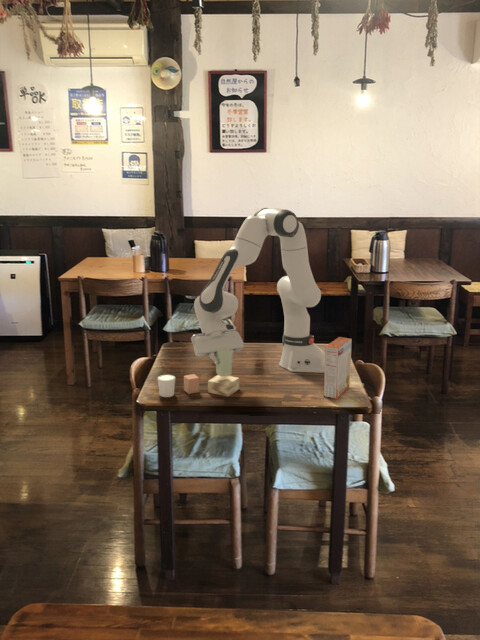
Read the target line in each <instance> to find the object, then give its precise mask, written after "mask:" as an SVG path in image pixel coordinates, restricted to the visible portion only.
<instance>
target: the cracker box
mask: <svg viewBox="0 0 480 640" xmlns="http://www.w3.org/2000/svg"><path fill="white" fill-rule="evenodd" d="M352 343H353V341H352V338H347V337H343V336H338V337H337V338H335V339H334V340H333V341H331V342H330V343H328V344H326V345H325V350H324V353H325V373H323V374H324V376H323V378H324V379H323V397H324V396H325V398H328V397H331V398H330V399H333V398H335V399H334V400H338V399H339V398H340V397H341V396H342V395H343V394H344V393H346V391H347V390H349V389H350V380H351V360H352ZM337 398H338V399H337Z"/></svg>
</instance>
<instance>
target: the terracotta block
mask: <svg viewBox="0 0 480 640" xmlns="http://www.w3.org/2000/svg"><path fill="white" fill-rule="evenodd" d="M183 391H184V392H186V393H187V395H190V394H195V393H196V394H197V393H200V377H199V376H197V374H195V373H192V374H187V375H184V376H183Z"/></svg>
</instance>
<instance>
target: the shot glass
mask: <svg viewBox="0 0 480 640" xmlns="http://www.w3.org/2000/svg"><path fill="white" fill-rule="evenodd" d="M157 385H158V395H159V397H163V398H171V397H173V396H175V387H176V376H175V375H173V374H161V375H158V376H157Z"/></svg>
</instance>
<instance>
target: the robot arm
mask: <svg viewBox="0 0 480 640" xmlns="http://www.w3.org/2000/svg"><path fill="white" fill-rule="evenodd" d="M268 236H274V237H275V236H276V237H278V238H279V241H280V252H281V262H282V268H283V270H284V272H285V273H286V275H284V276H282V277H281V278H280V279H279V280H278V281H277V284H276V290H277V293H278V294H279V297H280V299H281V304H282V305H281V306H282V310H283V316H284V323H283V324H284V325H283V326H284V327H283V334H282V352H281V358H280V361H279V364H278V365H279V366H280V367H281V368H283V369H286V370H288V371H289V372H291V373H295V372H296V373H317V374H319V373H320V374H324V373H325V350H323V349H322V348H320V347H319V346H318V345H317V344H316V343H315V342H314V341H315V337H314V335H312V334H310V331H311V316H310V313H309V312H308V309H307V308H314V307H316V306H317V305H318V304H319V303H320V301H321V297H322V291H321V289H320V288H319V286H318V285H317V283H316V280H315V278H314V275H313V272H312V269H311V265H310V261H309V260H310V259H309V253H308V252H309V251H308V243H307V236H306V231H305V228H304V225H303V223H301V221H299V218H298V217H297V215H296V214H295V213H294V212H293V211H291V210H289V209H284V208H280V207H263V208H260V209H258V210H257V211H256V212H255V213H254V214H253V215H249V216H247V217H246V218H245V220H244V221H242V224H241V226H240V228H239V230H238V232H237V234H236V236H235V237H234V241H233V243H232V245H231V246H230V248H229V249H227V250H226V251H225V252H224V254H223V256H222V257H221V258H220V260H219V262H218V264H217V266H216V268H215V270H214V271H213V274H212V275H211V277H210V279H209V280H208V283H207V284H206V285H205V287H204V288H203V289H202V290H201V292H200V295H198V296H197V297H196V298H195V300H194V302H193V303H194V304H193V307H194V312H195V316H196V319H197V321H198V323H199V324H200V330H201V333H198V334H197V333H195V334H193V335H192V336H191V337H190V341H191V343H192V345H193V351H194V354H195V356H196V357H197V358H201V357H207V356H208V357H209V359H211V360H212V362H214V364H215V366H216V364H219V363H220V361H219V358H218V359H217V358H216V352H217V349H220V348H228V349H230V350H232V363H233V361H234V356H233V355H234V352H240V351H242V349H243V348H244V345H245V344H244V341H243V338H242V337H241V334H240V333H239V332H238V331H237V326H236V325H235V324H228V323H225V322H222V320H225V319H228V318H230V317H232V316H234V315H235V314H236V313H237V312H238V310H239V305H240V304H239V299H238V297H237V296H236V295H234V294H233V293H231V292H229V291H226V290H224V289H225V287H226V284H227V282H228V280H229V278H230V276H231V274H232V272H233V271H234V270H236V268H238V267H242V266H248V265H252V264H253V263H255V262H256V261H257V258H258V257H259V256H260V252H261V251H262V248H263V246H264V245H263V244H264V243H265V240H266V238H267V237H268Z"/></svg>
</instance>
